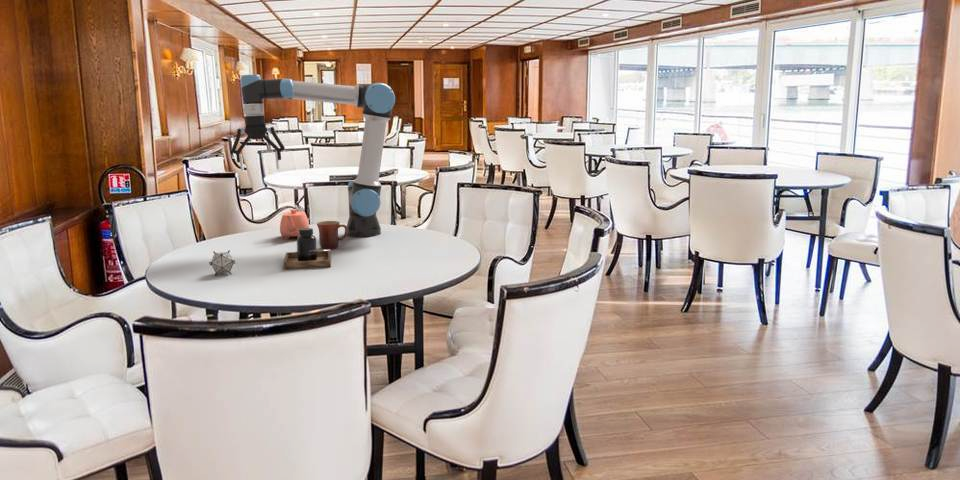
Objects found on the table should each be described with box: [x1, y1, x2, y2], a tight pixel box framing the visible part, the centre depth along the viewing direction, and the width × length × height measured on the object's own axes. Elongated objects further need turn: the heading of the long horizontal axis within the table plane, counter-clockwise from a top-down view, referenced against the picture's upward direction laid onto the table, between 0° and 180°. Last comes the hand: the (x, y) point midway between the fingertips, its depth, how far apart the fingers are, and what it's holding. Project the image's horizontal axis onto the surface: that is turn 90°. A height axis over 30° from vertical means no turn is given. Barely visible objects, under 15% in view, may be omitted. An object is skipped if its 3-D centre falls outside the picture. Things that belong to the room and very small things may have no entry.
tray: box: [283, 250, 332, 270], centre depth 257 cm, size 16×16×2 cm
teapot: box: [279, 208, 310, 240], centre depth 300 cm, size 20×12×12 cm, turn 2°
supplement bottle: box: [296, 227, 318, 261], centre depth 255 cm, size 7×7×12 cm
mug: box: [316, 220, 348, 250], centre depth 280 cm, size 12×9×10 cm
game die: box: [208, 250, 236, 276], centre depth 241 cm, size 9×8×10 cm
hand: (260, 169), depth 280 cm, fingers open, 13 cm apart
